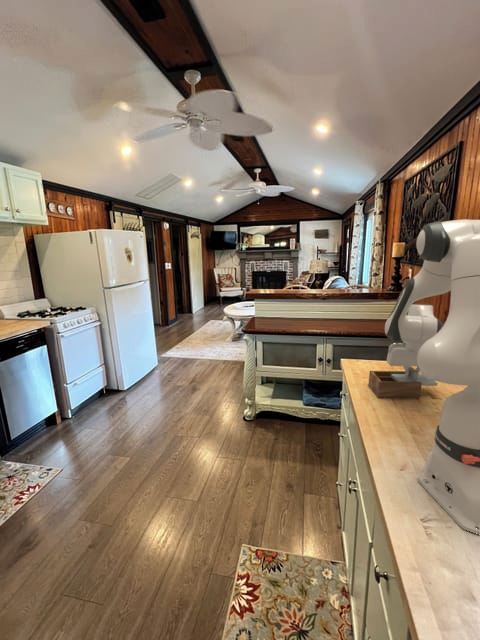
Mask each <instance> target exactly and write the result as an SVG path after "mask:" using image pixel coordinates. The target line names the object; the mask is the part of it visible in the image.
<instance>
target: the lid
mask: <svg viewBox="0 0 480 640" xmlns="http://www.w3.org/2000/svg"><path fill="white" fill-rule="evenodd" d="M408 370H409V371H410V372H411V376H406V375H405V374H391V377H392V378H393V379H394V380H395V381H404V382H421V383H422V385H421V387H423V386H424V387H428V386H429V387H437V386H438V381H434V380H431V379H428V378H426V377H425V376H424V375H423V373H421V374H420V373H419V375H418V372H417V371H416V368H413V366H409V368H408Z"/></svg>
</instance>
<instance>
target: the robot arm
mask: <svg viewBox="0 0 480 640" xmlns="http://www.w3.org/2000/svg"><path fill="white" fill-rule="evenodd" d="M415 245H416V246H415V247H416V249H417V250H416V251H417V255H418V256H419V257H420V258H421V259H422V260H423V264H422V266H421V268H420V270H419V272H418V273H417V274H415V276H413V277H411V278H409V279H408V280H407V281H406V282H405V284H404V285H403V288H402V289H401V292H400V293H399V296H398V297H397V300H396V303H395V304H394V307H393V309H392V311H391V312H390V314H389V316H388V317H387V320H386V321H385V324H384V335H385V336H386V337H387V339H389V340H390V341H392V342H394V343H391V344H390V345H388V352H387V356H386V362H387V364H388V365H390V366H392V367H403V369H404V371H405V375H406V376H411V372H410V371H409V370H408V368H409V366H411V367H416V368H415V370H416V371H417V372H418V375H419V374H420V372H421V374H423V375H424V376H425V377H426V378H428V379H431V380H434V381H436V382H437V383H438V382H439V383H443V384H447V385H455V386H456V385H458V386H466V387H465V388H463V389H462V390H460V391H458V392H455V393H452V394H450V395H449V396H447V397H446V398H445V400H444V402H443V404H442V408H441V414H440V419H439V424H438V425H437V426H436V430H435V432H434V445H433V447H431V449H430V451H429V452H428V454H427V457H426V461H425V464H424V467H423V470H422V472H421V473H420V474H419V475H418V477H417V482H418V483H419V484H420V485H421V486H422V488H424V490H425V491H426V492H427V493H428V494H429V495H430V496H431V497H432V498H433V499H434V500H435V501H436V502H437V504H439V506H440V507H442V509H443V510H444V511H445V512H446V513H447V514H448V515H449V516H450V518H452V519H453V521H454V522H455V523H456V524H457V525H458V526H459V527H460V528H461V529H463V530H465V531H466V530H467V532H469V531H470V533H471V532H473V533H472V534H474V533H477V534H480V219H469V218H467V219H456V220H455V219H453V220H446V221H434V222H430V223H427V224H425V225H424V226H423V227H422V228H421V229H420V231H419V234H418V236H417V238H416V244H415ZM449 292H450V301H449V302H450V303H449V311H448V315H447V318H446V320H445V321H444V323H443V322H442V321H441V320H440V319H439V318H437V317H435V315H434V306H433V305H432V304H430V303H416V302H417V301H420V300H422V299H426V298H429V297H434V296H440V295H444V294H446V293H449ZM476 528H477V529H476ZM477 534H476V535H477Z"/></svg>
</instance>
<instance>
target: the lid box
mask: <svg viewBox="0 0 480 640" xmlns="http://www.w3.org/2000/svg"><path fill="white" fill-rule="evenodd" d="M391 374H405V370H402V371H401V370H400V371H399V370H369V376H368V384H367V385H368V388H370V390H371V391H372V393H374V396H376V398H377V399H390V400H391V399H394V400H395V399H396V400H399V399H400V400H404V399H405V400H420V397H421V389H422V386H421V385H422V383H421V382H404V381H395V380H394V379H393V378H392V377H391Z"/></svg>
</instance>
